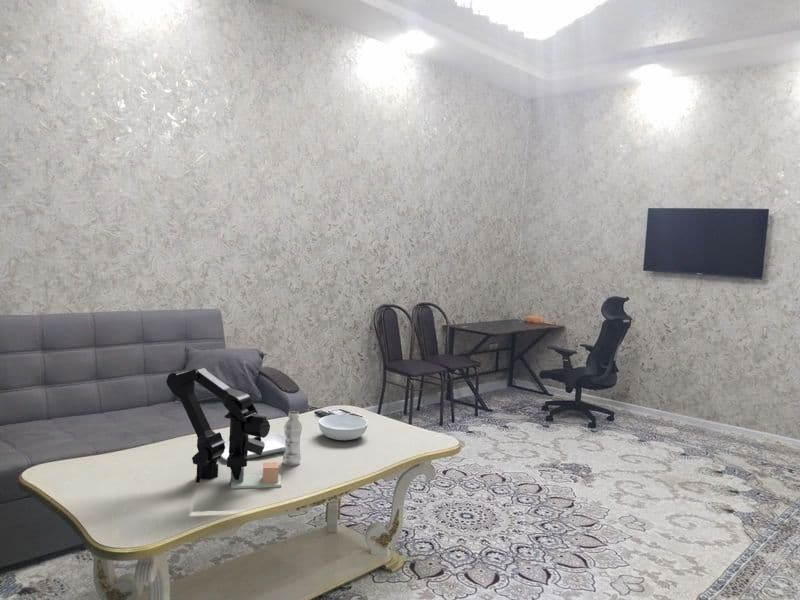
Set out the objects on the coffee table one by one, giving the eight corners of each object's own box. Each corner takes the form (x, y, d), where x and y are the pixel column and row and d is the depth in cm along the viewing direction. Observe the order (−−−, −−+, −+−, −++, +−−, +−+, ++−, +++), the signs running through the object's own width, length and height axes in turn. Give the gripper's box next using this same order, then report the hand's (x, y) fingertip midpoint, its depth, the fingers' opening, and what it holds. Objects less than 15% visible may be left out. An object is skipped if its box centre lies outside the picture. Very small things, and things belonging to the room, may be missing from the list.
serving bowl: (309, 440, 252) (310, 424, 252) (329, 426, 272) (330, 411, 272) (356, 448, 247) (357, 431, 246) (373, 433, 267) (374, 418, 266)
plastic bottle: (304, 465, 225) (306, 412, 223) (292, 470, 219) (294, 416, 217) (290, 461, 228) (293, 409, 226) (278, 466, 222) (280, 412, 220)
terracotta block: (262, 482, 202) (263, 468, 201) (262, 477, 207) (263, 462, 206) (278, 482, 203) (278, 467, 202) (277, 476, 208) (278, 462, 207)
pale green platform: (230, 488, 198) (230, 473, 197) (231, 477, 206) (231, 463, 206) (281, 486, 201) (281, 471, 201) (280, 476, 210) (281, 461, 210)
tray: (300, 451, 240) (300, 443, 239) (225, 467, 219) (225, 458, 218) (277, 439, 252) (277, 431, 252) (205, 454, 231) (205, 445, 231)
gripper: (263, 441, 194) (262, 488, 195) (263, 423, 212) (261, 467, 213) (227, 441, 191) (225, 489, 193) (230, 423, 209) (228, 467, 211)
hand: (237, 478), depth 202 cm, fingers closed on pale green platform, 2 cm apart
